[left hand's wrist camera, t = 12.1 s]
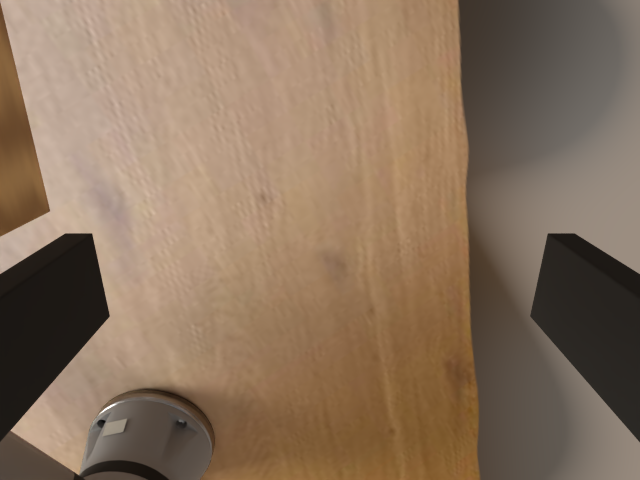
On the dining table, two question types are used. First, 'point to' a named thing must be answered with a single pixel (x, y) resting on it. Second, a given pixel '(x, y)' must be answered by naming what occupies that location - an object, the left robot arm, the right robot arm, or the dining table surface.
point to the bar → (16, 149)
